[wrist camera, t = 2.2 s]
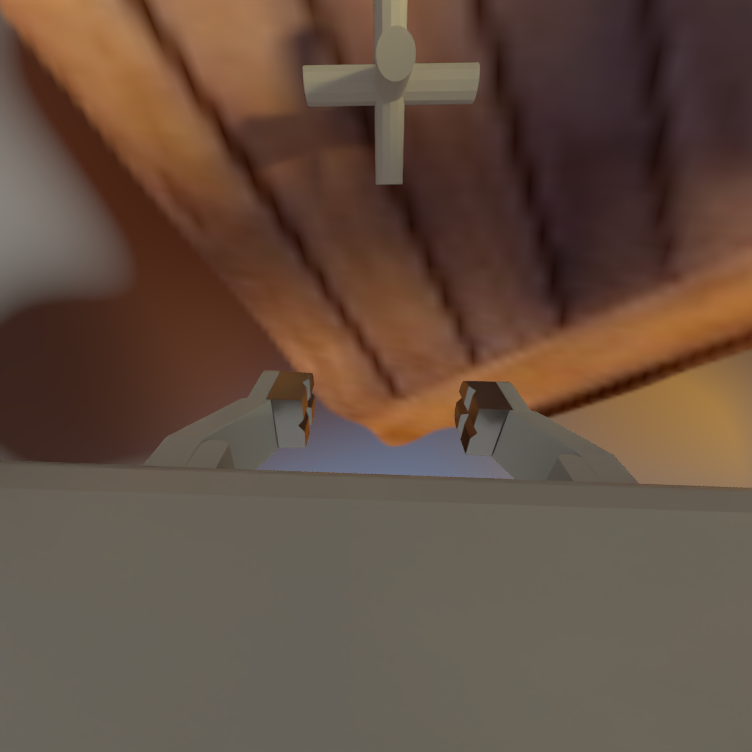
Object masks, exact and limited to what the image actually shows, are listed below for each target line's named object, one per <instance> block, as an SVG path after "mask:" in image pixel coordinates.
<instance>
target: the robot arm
mask: <svg viewBox="0 0 752 752" xmlns="http://www.w3.org/2000/svg"><path fill="white" fill-rule="evenodd" d="M313 386H314V380H313V374H312V373H302V372H287V371H269V370H266V371H263V373H262V374H261V376H260V378H259V379H258V381H257V383H256V384H255V386H254V388H253V389H252V391H251V393H250V394H249V396H248V398H247V399H245V398H242V399H240V400H238V401H236V402H234V403H232V404H230V405H228V406H226V407H224V408H222V409H220V410H218V411H216V412H215V413H213V414H211V415H209V416H206V417H205V418H203V419H201V420H199V421H197V422H195V423H193V424H191V425H189V426H187V427H185V428H183V429H181V430H179V431H177V432H175V433H173V434H171V435H169V436H167V437H166V438H165V439H164V440H163V442H162V443H161V444H160V445H159V446H158V448H157V449H156V450H155V451H154V453H153V454H152V455H151V456H150V457H149V459H148V460H147V461H146V462H145V463H144V465H143V466H138V465H111V464H83V463H55V462H28V461H1V460H0V752H752V488H742V487H741V488H740V487H713V486H687V485H686V486H685V485H659V484H639V483H638V482H637V481H636V479H635V478H634V477H633V476H632V475H631V474H630V473H629V472H628V471H627V469H626V468H625V467H624V466H623V465H622V464H621V463H620V462H619V460H618V459H617V458H616V457H615V456H614V455H613V454H611V453H609V452H607V451H606V450H604V449H602V448H600V447H598V446H596V445H595V444H593V443H591V442H589V441H588V440H586V439H584V438H582V437H581V436H579V435H577V434H575V433H573V432H572V431H570V430H568V429H566V428H564V427H563V426H561V425H559V424H557V423H556V422H554V421H552V420H550V419H548V418H547V417H545V416H543V415H541V414H540V413H538V412H534V411H531V410H530V409H529V407H528V406H527V405H526V403H525V402H524V400H523V399H522V398H521V396H520V395H519V393H518V392H517V390H516V389H515V388H514V386H513V385H512V383H510V382H486V381H463V382H462V384H461V387H460V390H459V392H460V395H461V397H462V398H461V399H460V400H459V401H458V402H457V403H456V407H455V418H454V419H455V425H456V428H457V430H458V431H459V432H461V433H462V435H461V439H460V440H461V443H462V445H463V448H464V451H465V454H466V455H481V456H492V458H493V459H494V460H496V462H498V464H500V465H501V466H502V467H503V468H504V469H505V470H506V471H507V472H508V473H509V474H510V475H511V476H512V477H513V478H514V479H494V478H466V477H437V476H410V475H383V474H355V473H354V474H353V473H329V472H328V473H327V472H301V471H274V470H273V471H272V470H256V469H257V468H258V467H259V466H260V465H261V464H262V463H263V462H265V461H266V460H267V459H268V458H269V457H270V456H271V455H272V454H273V453H274V452H276V451H277V450H278V448H306V445H307V441H308V438H309V434H310V430H309V426H310V425H311V424H312V422H313V418H314V411H315V396H314V395H313V394H312V390H313Z"/></svg>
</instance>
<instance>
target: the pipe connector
mask: <svg viewBox="0 0 752 752" xmlns="http://www.w3.org/2000/svg"><path fill="white" fill-rule="evenodd" d="M373 12H374V64H358V65H304V66H303V83H304V90H305V96H306V101H307V104H308V107H321V106H375V172H376V185H385V184H403V148H404V110H405V105H440V104H473V102H474V100H475V97H476V94H477V90H478V84H479V77H480V65H479V63H478V62H475V63H416V64H414V63H415V57H416V47H415V43H414V39H413V37H412V35H411V34H410V32H409V31H408V30H407V0H373Z"/></svg>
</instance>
